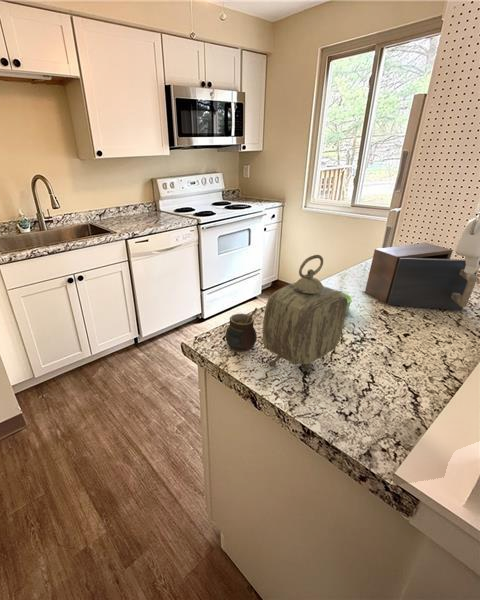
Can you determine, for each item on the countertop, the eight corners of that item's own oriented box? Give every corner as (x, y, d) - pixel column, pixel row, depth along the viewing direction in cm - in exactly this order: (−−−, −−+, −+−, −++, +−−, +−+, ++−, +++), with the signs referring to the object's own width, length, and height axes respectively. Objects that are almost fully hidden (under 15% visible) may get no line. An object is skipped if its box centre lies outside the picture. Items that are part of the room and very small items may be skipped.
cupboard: (437, 296, 90) (453, 249, 84) (385, 303, 89) (397, 256, 83) (412, 286, 97) (425, 242, 91) (364, 292, 96) (374, 248, 90)
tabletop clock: (301, 343, 75) (316, 243, 65) (338, 361, 68) (362, 252, 57) (259, 366, 69) (268, 259, 58) (295, 388, 62) (313, 272, 51)
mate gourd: (219, 344, 78) (219, 309, 74) (242, 335, 81) (244, 301, 77) (237, 358, 72) (239, 321, 68) (263, 348, 75) (266, 312, 71)
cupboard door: (471, 320, 77) (493, 269, 71) (393, 313, 83) (406, 265, 78) (460, 308, 82) (479, 260, 77) (387, 303, 89) (399, 257, 83)
